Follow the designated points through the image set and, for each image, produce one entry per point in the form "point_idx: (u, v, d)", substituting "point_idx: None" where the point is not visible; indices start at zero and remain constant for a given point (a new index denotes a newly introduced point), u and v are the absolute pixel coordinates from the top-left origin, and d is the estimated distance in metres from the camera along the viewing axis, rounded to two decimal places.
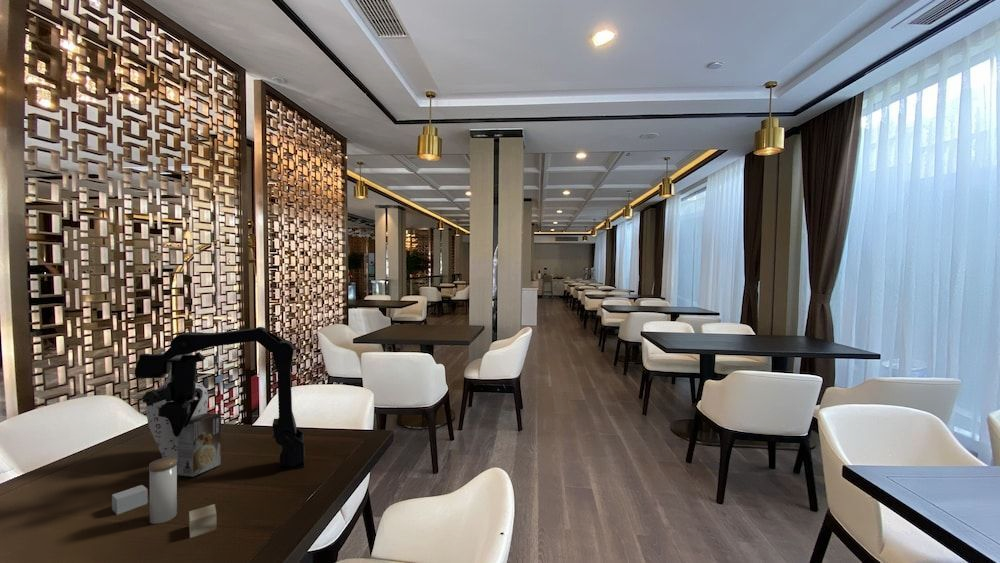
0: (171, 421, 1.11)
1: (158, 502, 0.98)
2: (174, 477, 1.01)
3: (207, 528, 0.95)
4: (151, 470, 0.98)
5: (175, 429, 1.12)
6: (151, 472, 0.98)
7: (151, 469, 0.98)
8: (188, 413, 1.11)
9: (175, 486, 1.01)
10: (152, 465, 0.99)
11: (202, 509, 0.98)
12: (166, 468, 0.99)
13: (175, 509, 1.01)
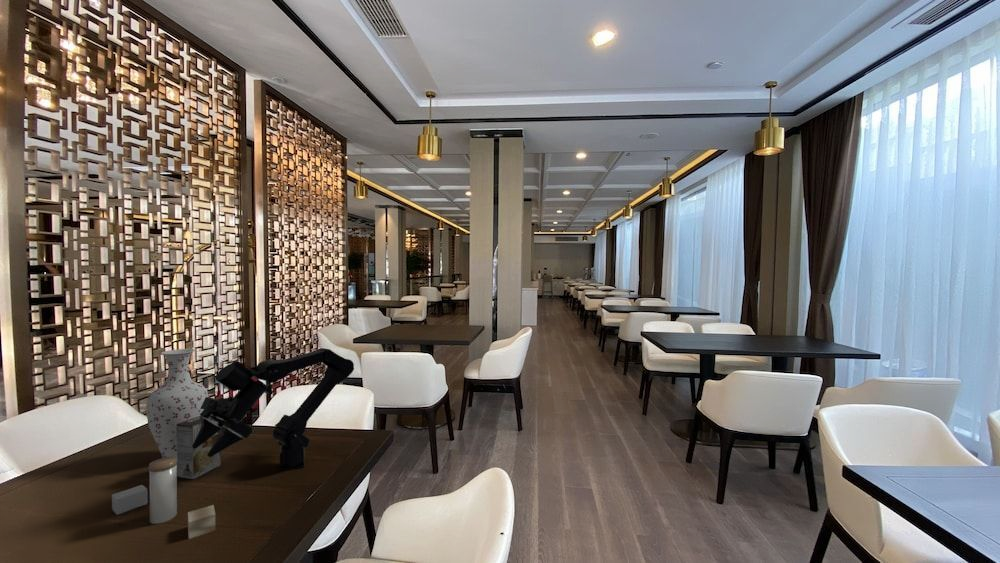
0: (222, 439, 1.06)
1: (158, 502, 0.98)
2: (174, 477, 1.01)
3: (206, 529, 0.95)
4: (151, 470, 0.98)
5: (214, 449, 1.05)
6: (151, 472, 0.98)
7: (151, 469, 0.98)
8: (242, 439, 1.09)
9: (175, 486, 1.01)
10: (152, 464, 0.99)
11: (201, 510, 0.97)
12: (166, 468, 0.99)
13: (175, 509, 1.01)
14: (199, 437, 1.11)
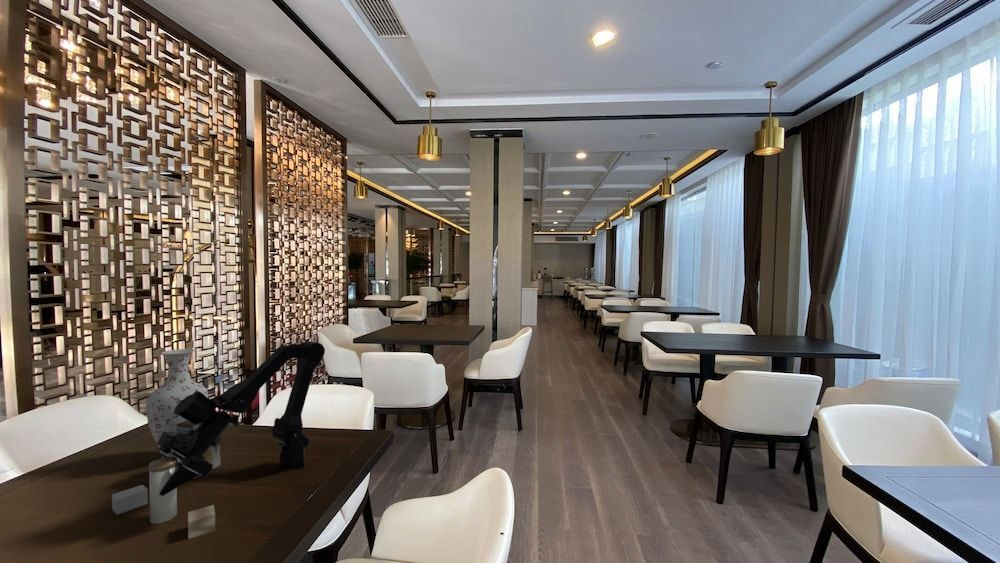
0: (176, 476, 0.99)
1: (158, 502, 0.98)
2: None
3: (206, 529, 0.95)
4: (151, 470, 0.98)
5: (167, 487, 0.98)
6: (151, 472, 0.98)
7: (151, 469, 0.98)
8: (199, 475, 1.02)
9: None
10: (152, 465, 0.99)
11: (201, 510, 0.97)
12: (166, 468, 0.99)
13: (175, 509, 1.01)
14: None
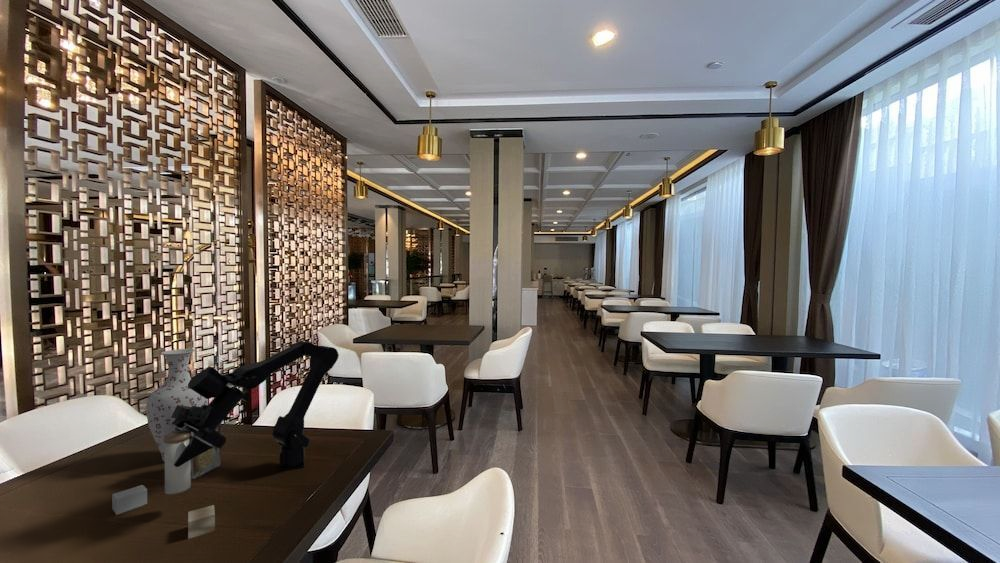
0: (190, 448, 1.01)
1: (173, 473, 1.00)
2: None
3: (205, 529, 0.95)
4: (166, 442, 1.00)
5: (182, 458, 1.01)
6: (166, 444, 1.00)
7: (166, 441, 1.00)
8: (212, 448, 1.04)
9: None
10: (167, 437, 1.01)
11: (201, 510, 0.97)
12: (180, 440, 1.01)
13: (189, 481, 1.04)
14: None
